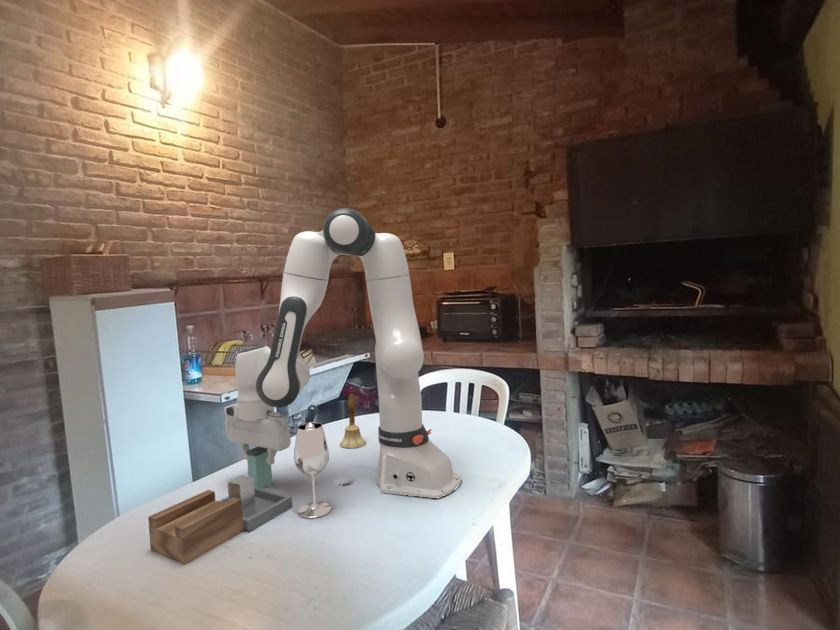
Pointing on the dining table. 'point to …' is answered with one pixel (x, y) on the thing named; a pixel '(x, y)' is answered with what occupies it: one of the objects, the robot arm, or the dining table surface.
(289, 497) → the tray
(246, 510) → the steel block
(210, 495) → the groove board
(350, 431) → the hand bell
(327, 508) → the wineglass
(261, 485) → the green grey block
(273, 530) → the dining table surface
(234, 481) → the steel block
